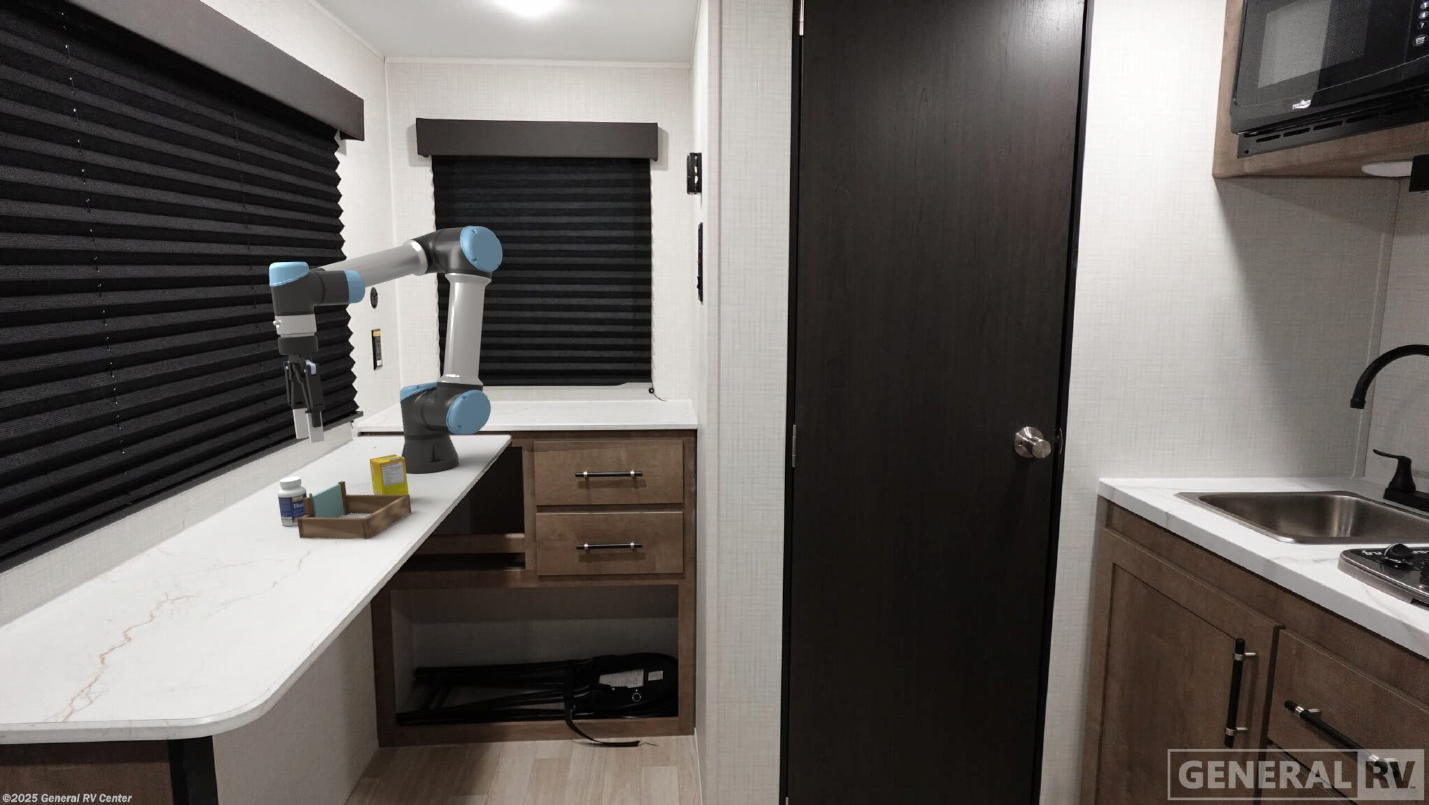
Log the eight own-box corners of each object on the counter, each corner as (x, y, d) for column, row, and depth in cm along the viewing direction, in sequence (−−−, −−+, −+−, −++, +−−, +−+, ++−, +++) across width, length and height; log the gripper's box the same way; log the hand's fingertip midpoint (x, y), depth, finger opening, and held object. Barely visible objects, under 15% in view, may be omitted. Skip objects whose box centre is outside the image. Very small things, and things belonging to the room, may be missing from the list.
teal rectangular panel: (341, 514, 172) (337, 484, 170) (344, 514, 172) (340, 484, 170) (315, 528, 163) (310, 496, 161) (318, 528, 163) (314, 496, 161)
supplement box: (399, 498, 184) (394, 453, 182) (410, 503, 180) (405, 457, 178) (373, 504, 180) (368, 458, 178) (384, 509, 175) (379, 462, 174)
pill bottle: (297, 527, 165) (292, 482, 164) (276, 526, 166) (270, 482, 165) (315, 519, 170) (310, 476, 169) (294, 518, 171) (288, 475, 170)
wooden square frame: (348, 511, 175) (344, 477, 173) (411, 512, 173) (407, 477, 171) (299, 538, 158) (294, 500, 157) (368, 538, 156) (364, 500, 155)
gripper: (261, 335, 171) (275, 437, 175) (296, 338, 158) (310, 448, 162) (297, 332, 176) (310, 431, 180) (334, 335, 163) (346, 442, 167)
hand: (310, 439), depth 171 cm, fingers open, 7 cm apart
